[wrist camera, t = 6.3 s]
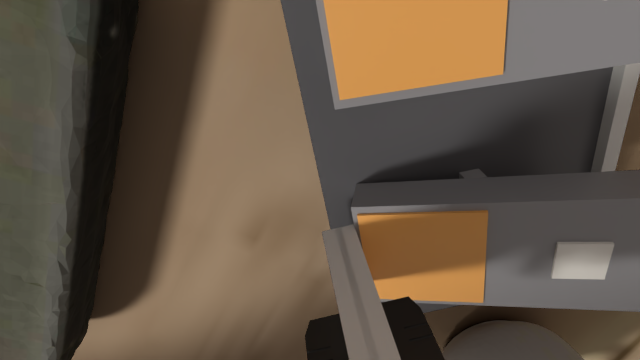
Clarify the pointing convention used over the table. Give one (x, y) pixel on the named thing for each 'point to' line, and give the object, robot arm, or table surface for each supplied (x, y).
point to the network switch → (57, 164)
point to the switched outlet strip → (456, 126)
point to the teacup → (508, 343)
